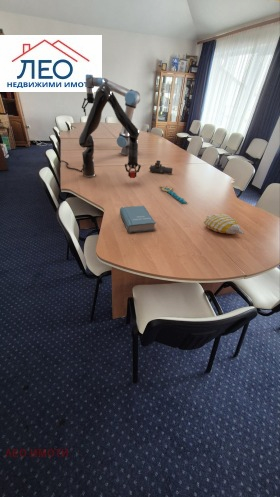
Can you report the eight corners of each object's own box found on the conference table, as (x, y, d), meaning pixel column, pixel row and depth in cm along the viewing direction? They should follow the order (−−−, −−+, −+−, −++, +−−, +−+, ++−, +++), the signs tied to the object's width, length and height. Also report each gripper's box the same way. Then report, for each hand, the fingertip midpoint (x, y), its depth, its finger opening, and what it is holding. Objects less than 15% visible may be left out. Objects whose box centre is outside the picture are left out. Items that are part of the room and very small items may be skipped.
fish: (254, 225, 128) (232, 232, 118) (249, 236, 132) (228, 244, 123) (221, 208, 144) (199, 213, 134) (217, 218, 149) (196, 224, 139)
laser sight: (171, 175, 213) (172, 165, 207) (148, 172, 216) (149, 162, 210) (172, 172, 221) (173, 162, 215) (150, 169, 224) (150, 159, 218)
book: (154, 230, 131) (155, 222, 128) (128, 232, 126) (128, 225, 124) (143, 212, 148) (143, 205, 145) (119, 214, 144) (120, 207, 141)
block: (129, 177, 185) (130, 172, 182) (129, 176, 188) (129, 170, 186) (134, 178, 185) (135, 172, 182) (134, 176, 189) (134, 170, 186)
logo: (159, 187, 187) (159, 186, 186) (169, 186, 189) (169, 185, 189) (175, 204, 161) (175, 203, 161) (187, 203, 164) (187, 202, 163)
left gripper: (124, 156, 173) (123, 178, 183) (142, 157, 174) (140, 178, 184) (124, 153, 179) (123, 175, 189) (141, 154, 180) (140, 175, 190)
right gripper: (77, 92, 230) (79, 115, 243) (101, 93, 232) (102, 117, 245) (78, 92, 236) (80, 115, 249) (102, 93, 238) (103, 116, 251)
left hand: (132, 176), depth 186 cm, fingers closed on block, 4 cm apart
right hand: (91, 116), depth 247 cm, fingers open, 13 cm apart
